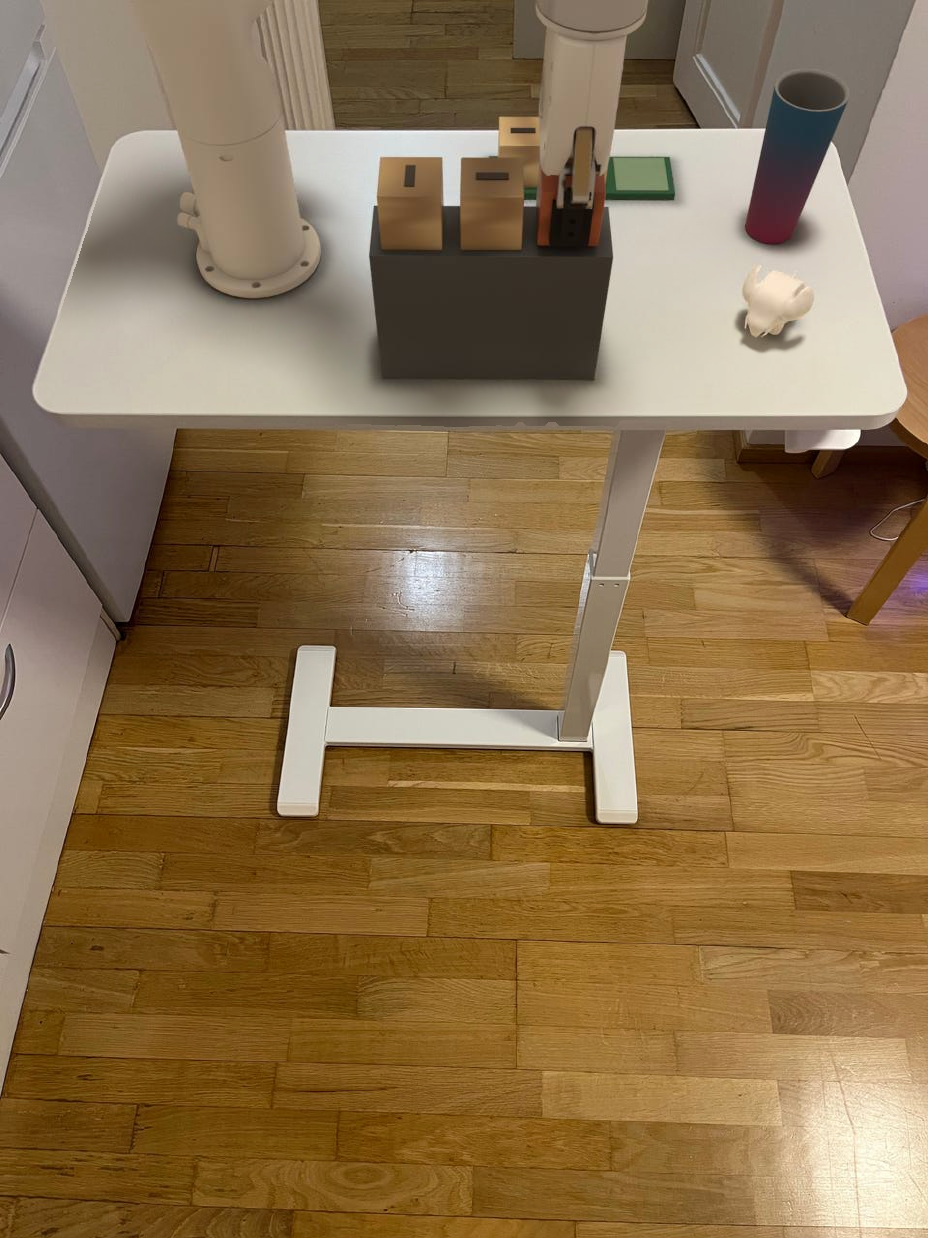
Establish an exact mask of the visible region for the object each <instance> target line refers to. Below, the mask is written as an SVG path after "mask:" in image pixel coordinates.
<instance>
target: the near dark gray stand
mask: <svg viewBox="0 0 928 1238" xmlns="http://www.w3.org/2000/svg"><path fill="white" fill-rule="evenodd" d="M443 162H444V161H443V157H442V156H380V157H379V168H378V179H377V189H376V204H377V205H373V209H372V220H371V230H370V231H371V232H370V239H369V252H368V258H369V259H368V260H369V269H370V270H369V271H370V277H371V279H370V280H371V287H372V298H373V305H374V306H373V307H374V315H375V326H376V334H377V344H378V352H379V362H380V363H379V364H380V371H381V379H385V380H387V379H388V380H389V379H390V380H391V379H394V380H396V379H398V380H399V379H400V380H403V379H404V380H518V381H519V380H523V381H525V380H526V381H527V380H529V381H530V380H535V381H536V380H537V381H538V380H539V381H546V380H547V381H561V380H562V381H594V380H595V379H596V372H597V365H598V358H599V353H600V346H601V340H602V339H601V338H602V334H603V333H602V332H603V328H604V319H605V314H606V307H607V300H608V294H609V288H610V281H611V275H612V268H613V261H614V250H613V249H614V248H613V240H612V239H613V238H612V228H611V219H610V209H609V208H610V207H609V206H604V210H603V217H602V223H601V230H600V237H599V244H598V246H587V247H552V246H545V245H537V226H536V205H527V206H526V205H525V199H524V168H523V158H489V157H471V156H470V157H467V156H466V157H464V156H463V157H461V158H460V182H459V183H460V184H459V187H460V189H459V205H444V204H445V202H444V201H445V199H444V169H443V168H444V167H443Z"/></svg>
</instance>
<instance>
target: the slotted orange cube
mask: <svg viewBox="0 0 928 1238" xmlns="http://www.w3.org/2000/svg"><path fill="white" fill-rule="evenodd" d="M566 163H573V158H569V159H568V160H567V162H566ZM557 184H558V175H550V176H547V175H546V174H545V173H544V172H543V171H542V169H541V160H540V159H539V172H538V184H537V197H536V199H535V206H536V226H537V245H545V246H550V244H549V233H550V223H551V212H552V202H553V200H556V198H557ZM571 186H572V176H566V184H565V190H566V188H567V187H571ZM605 197H606V187H605V177H604V173H603V174H602V175H601V176H598V174H597V173H596V176H595V186H594V197H593V200H594V209H593V217H592V224H591V231H590V238H589V244H588V246H598V244H599V237H600V230H601V223H602V217H603V210H604V207H605V203H606V199H605Z"/></svg>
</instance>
